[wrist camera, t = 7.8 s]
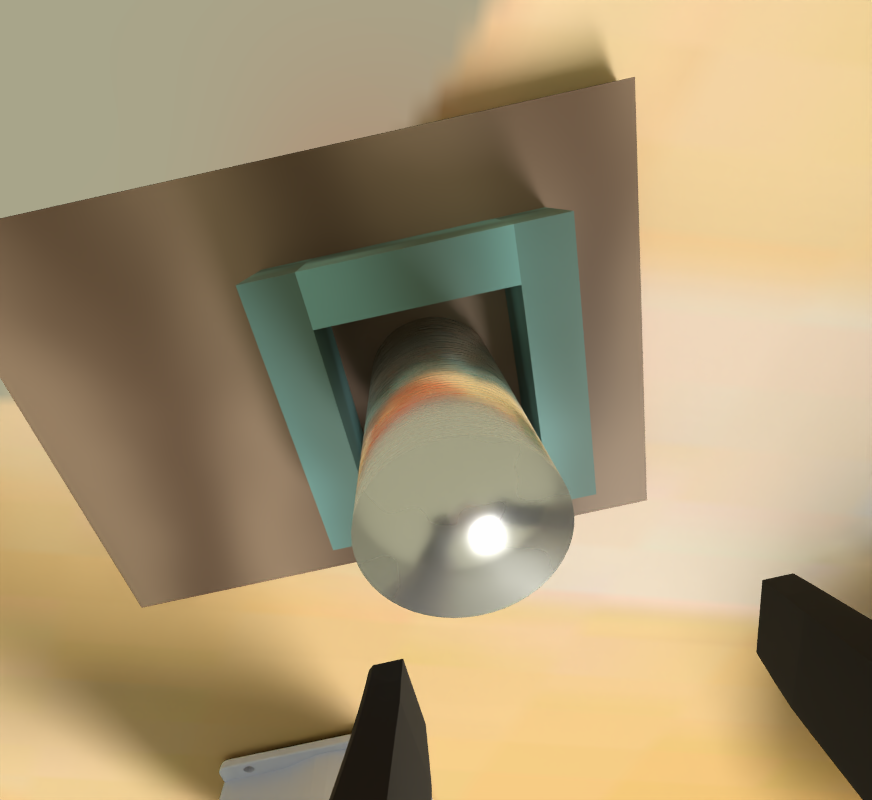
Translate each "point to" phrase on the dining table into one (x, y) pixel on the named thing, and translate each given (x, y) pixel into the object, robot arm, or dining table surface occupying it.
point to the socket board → (323, 328)
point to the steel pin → (453, 480)
